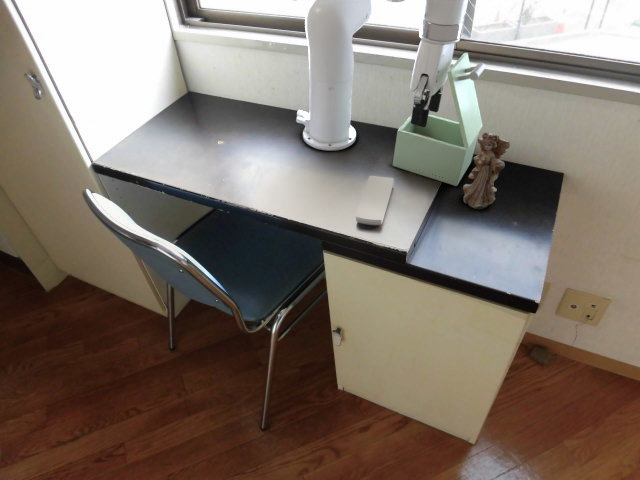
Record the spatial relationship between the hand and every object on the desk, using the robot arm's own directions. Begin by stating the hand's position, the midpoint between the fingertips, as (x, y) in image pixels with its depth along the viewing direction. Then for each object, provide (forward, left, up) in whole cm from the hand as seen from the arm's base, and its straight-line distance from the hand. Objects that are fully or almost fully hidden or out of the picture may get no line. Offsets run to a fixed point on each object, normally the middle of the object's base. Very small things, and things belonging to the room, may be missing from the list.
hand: (424, 116), depth 99 cm
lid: (+7, 0, +5) cm, 9 cm away
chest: (+4, 0, -11) cm, 11 cm away
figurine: (+16, -8, -11) cm, 20 cm away
